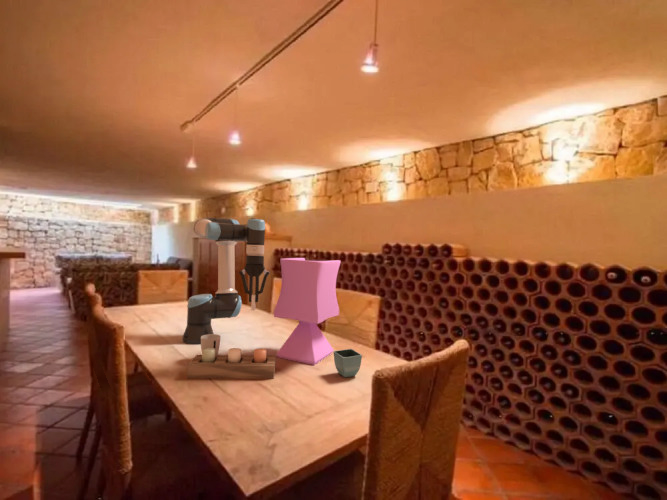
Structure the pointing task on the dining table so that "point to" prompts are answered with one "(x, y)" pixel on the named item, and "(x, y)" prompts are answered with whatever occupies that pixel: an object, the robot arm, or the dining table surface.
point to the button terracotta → (260, 355)
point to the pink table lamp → (307, 307)
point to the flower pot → (347, 362)
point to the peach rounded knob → (234, 355)
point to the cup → (210, 342)
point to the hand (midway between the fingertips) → (253, 309)
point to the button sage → (208, 355)
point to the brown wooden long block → (232, 368)
